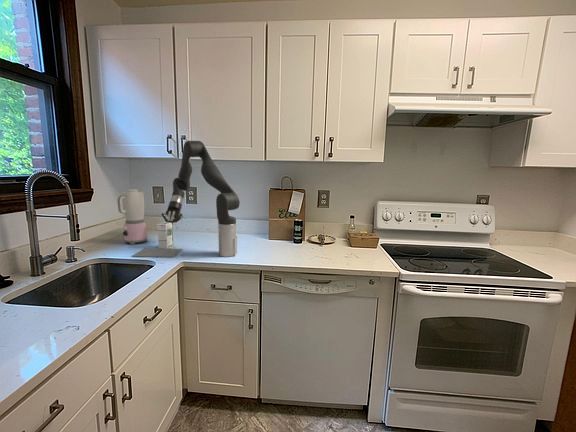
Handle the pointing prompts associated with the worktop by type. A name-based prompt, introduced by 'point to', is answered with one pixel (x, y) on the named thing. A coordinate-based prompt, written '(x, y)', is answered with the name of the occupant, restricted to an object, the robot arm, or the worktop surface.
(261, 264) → the worktop surface
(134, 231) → the blender
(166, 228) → the syrup box
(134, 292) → the worktop surface
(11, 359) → the worktop surface
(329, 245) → the worktop surface
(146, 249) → the slate mat
